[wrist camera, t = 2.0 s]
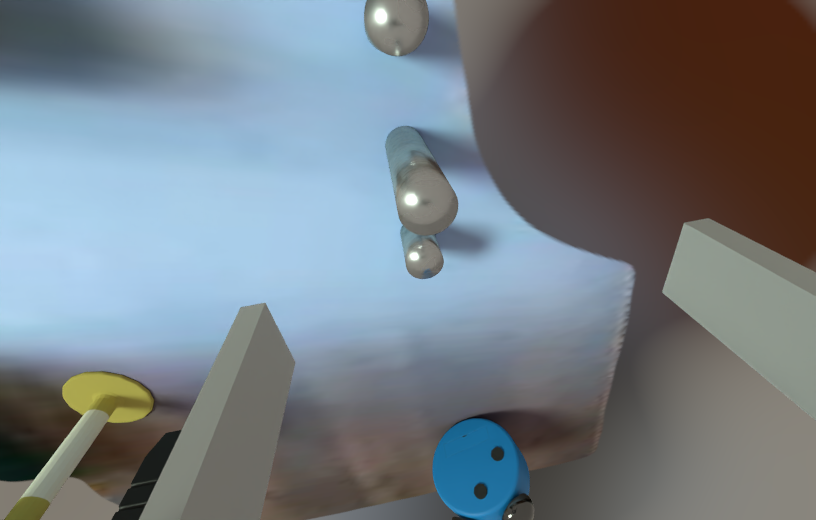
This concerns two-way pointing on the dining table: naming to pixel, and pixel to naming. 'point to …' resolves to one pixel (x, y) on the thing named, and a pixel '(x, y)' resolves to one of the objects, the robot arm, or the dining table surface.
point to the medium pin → (396, 25)
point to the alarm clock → (482, 473)
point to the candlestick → (83, 432)
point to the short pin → (421, 254)
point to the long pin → (419, 184)
